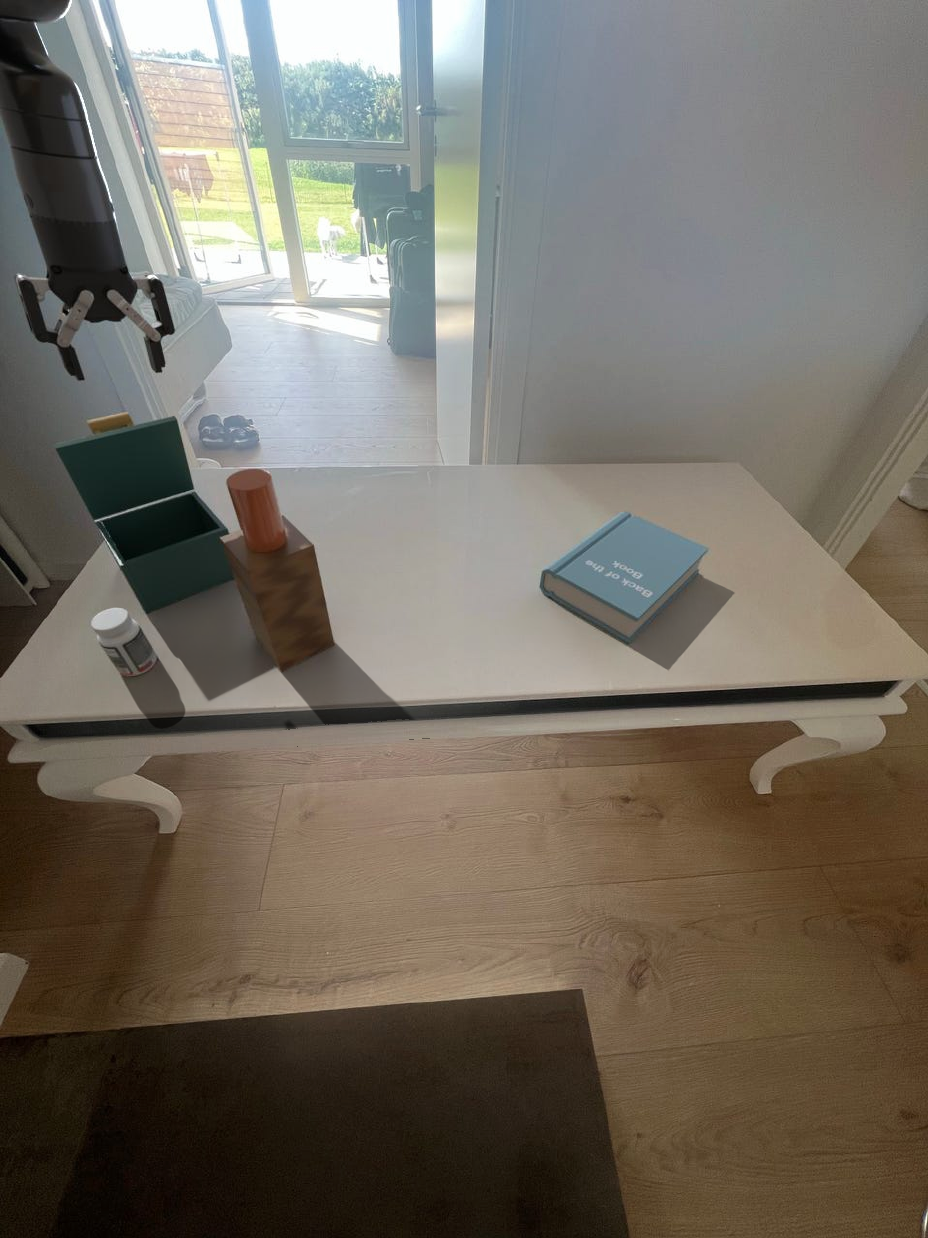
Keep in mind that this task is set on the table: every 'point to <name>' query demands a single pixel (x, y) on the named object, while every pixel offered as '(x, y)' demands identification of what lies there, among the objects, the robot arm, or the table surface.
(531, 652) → the table surface
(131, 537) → the chest
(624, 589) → the book
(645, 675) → the table surface
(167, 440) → the lid
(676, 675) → the table surface
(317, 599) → the stand
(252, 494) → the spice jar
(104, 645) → the pill bottle
